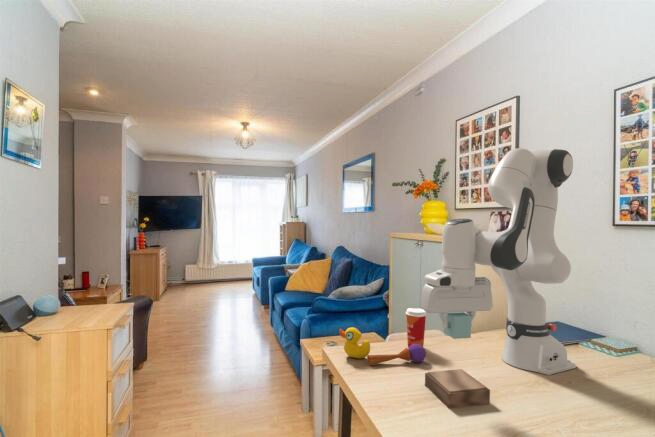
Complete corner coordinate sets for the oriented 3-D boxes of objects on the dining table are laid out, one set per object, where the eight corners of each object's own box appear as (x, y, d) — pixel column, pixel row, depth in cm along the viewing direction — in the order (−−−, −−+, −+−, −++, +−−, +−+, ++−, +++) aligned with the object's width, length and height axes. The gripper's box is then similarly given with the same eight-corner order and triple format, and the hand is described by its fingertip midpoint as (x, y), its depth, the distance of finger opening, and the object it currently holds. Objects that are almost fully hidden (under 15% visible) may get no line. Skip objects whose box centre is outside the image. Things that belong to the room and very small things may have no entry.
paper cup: (404, 343, 130) (404, 307, 130) (424, 344, 129) (425, 308, 129) (405, 350, 122) (406, 312, 122) (427, 352, 121) (428, 313, 121)
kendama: (365, 349, 114) (419, 341, 117) (367, 367, 113) (422, 359, 116) (370, 352, 108) (427, 344, 112) (372, 372, 107) (430, 363, 111)
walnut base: (461, 381, 100) (461, 368, 100) (489, 403, 88) (489, 388, 88) (425, 385, 97) (425, 371, 97) (448, 408, 85) (449, 392, 85)
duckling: (335, 356, 116) (336, 327, 116) (342, 351, 121) (342, 323, 121) (366, 363, 111) (367, 333, 111) (372, 357, 116) (372, 328, 116)
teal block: (459, 331, 95) (459, 310, 95) (470, 337, 91) (471, 315, 91) (443, 332, 94) (444, 311, 94) (454, 338, 89) (454, 316, 89)
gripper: (483, 274, 98) (482, 322, 98) (419, 276, 93) (418, 325, 93) (498, 278, 92) (497, 329, 92) (430, 280, 87) (429, 333, 87)
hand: (456, 327), depth 92 cm, fingers closed on teal block, 5 cm apart
